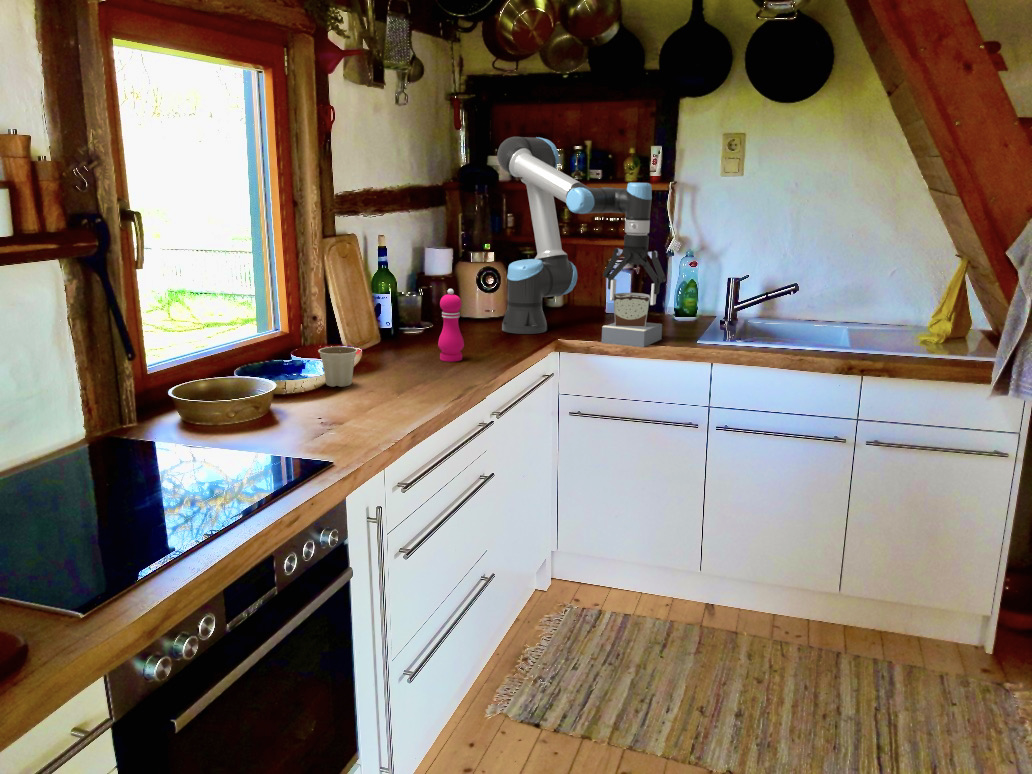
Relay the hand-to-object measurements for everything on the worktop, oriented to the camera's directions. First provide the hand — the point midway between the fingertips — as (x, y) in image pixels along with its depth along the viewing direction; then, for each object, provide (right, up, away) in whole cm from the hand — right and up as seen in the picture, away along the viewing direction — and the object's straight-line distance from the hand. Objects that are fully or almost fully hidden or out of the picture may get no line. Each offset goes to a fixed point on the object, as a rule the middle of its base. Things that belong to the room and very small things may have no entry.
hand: (632, 302), depth 262 cm
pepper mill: (-55, -19, -27) cm, 64 cm away
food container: (-1, -7, +2) cm, 8 cm away
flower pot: (-80, -26, -57) cm, 102 cm away
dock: (0, -12, +3) cm, 12 cm away
